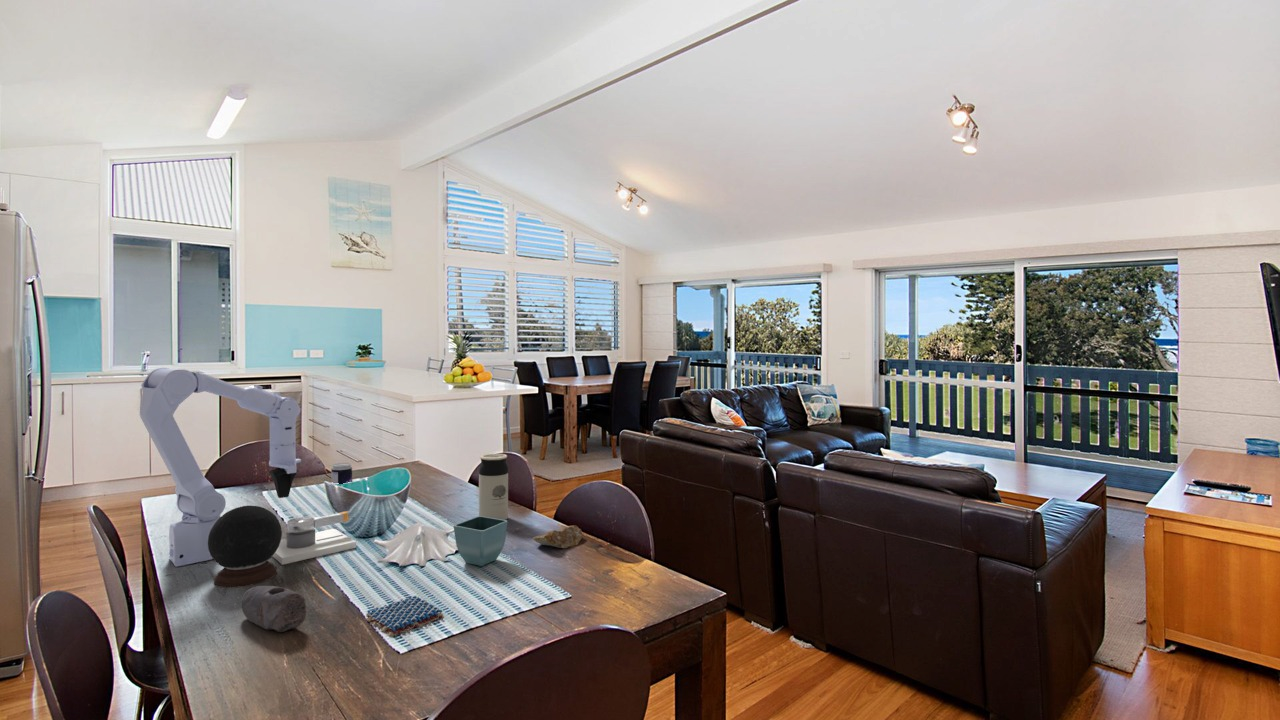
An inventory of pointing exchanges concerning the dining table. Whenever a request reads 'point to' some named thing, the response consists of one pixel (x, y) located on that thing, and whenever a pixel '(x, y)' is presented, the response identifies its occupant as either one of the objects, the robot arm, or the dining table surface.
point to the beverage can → (341, 473)
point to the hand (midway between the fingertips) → (283, 497)
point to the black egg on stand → (244, 546)
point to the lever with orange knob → (314, 522)
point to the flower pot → (480, 539)
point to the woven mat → (403, 615)
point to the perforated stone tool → (274, 607)
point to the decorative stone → (561, 537)
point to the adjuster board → (311, 545)
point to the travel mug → (493, 486)
